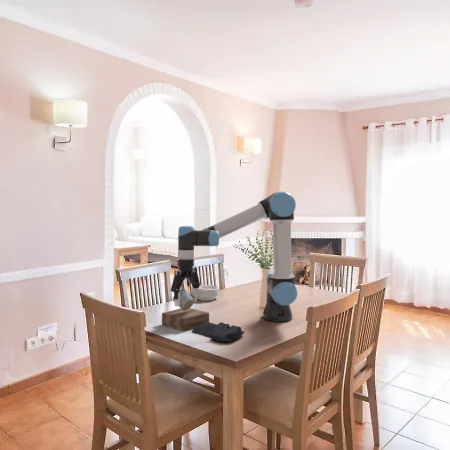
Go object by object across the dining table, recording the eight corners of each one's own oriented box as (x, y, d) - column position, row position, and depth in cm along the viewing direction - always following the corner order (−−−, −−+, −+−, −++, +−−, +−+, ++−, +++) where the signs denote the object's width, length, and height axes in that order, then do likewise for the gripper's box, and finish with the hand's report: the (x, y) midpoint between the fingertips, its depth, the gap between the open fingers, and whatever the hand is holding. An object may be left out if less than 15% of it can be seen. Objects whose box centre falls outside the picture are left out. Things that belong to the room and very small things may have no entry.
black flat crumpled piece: (209, 325, 202) (210, 316, 202) (247, 334, 189) (247, 324, 189) (188, 333, 190) (188, 322, 190) (227, 343, 177) (227, 332, 177)
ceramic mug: (183, 314, 199) (185, 304, 194) (171, 303, 202) (173, 293, 197) (198, 303, 205) (201, 292, 201) (187, 292, 209) (189, 282, 204)
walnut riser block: (209, 325, 203) (209, 312, 203) (184, 332, 191) (184, 319, 191) (186, 318, 214) (186, 307, 213) (161, 325, 202) (161, 312, 201)
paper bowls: (223, 300, 254) (224, 287, 254) (204, 304, 244) (204, 290, 244) (207, 296, 266) (207, 283, 265) (188, 299, 256) (188, 286, 255)
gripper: (196, 255, 213) (195, 298, 214) (162, 260, 193) (162, 307, 195) (207, 256, 208) (207, 300, 209) (174, 261, 189) (174, 309, 190)
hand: (185, 303), depth 202 cm, fingers closed on ceramic mug, 11 cm apart
